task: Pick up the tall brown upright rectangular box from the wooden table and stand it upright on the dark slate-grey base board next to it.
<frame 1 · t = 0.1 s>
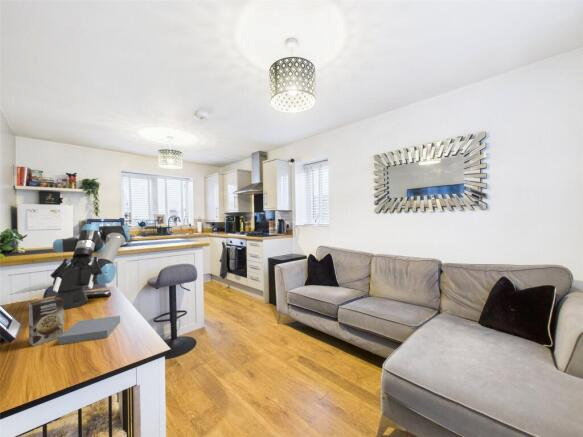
hand: (72, 289, 117), 15 cm above the table, tool tilted 35°, fingers open, 13 cm apart
base board: (92, 332, 106), on the table
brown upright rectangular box: (46, 340, 100), on the table
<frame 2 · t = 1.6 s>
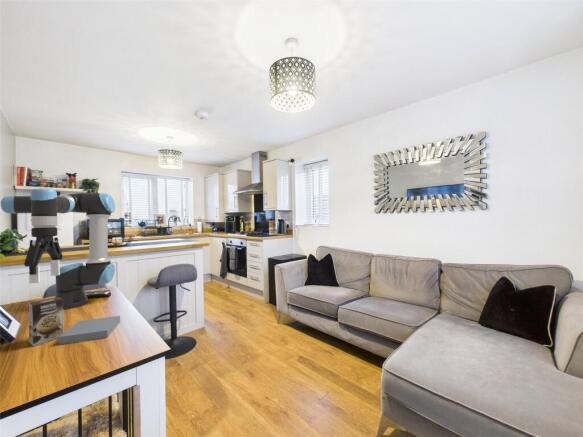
hand: (45, 278, 100), 25 cm above the table, tool pointing down, fingers open, 13 cm apart
nothing on the table moved.
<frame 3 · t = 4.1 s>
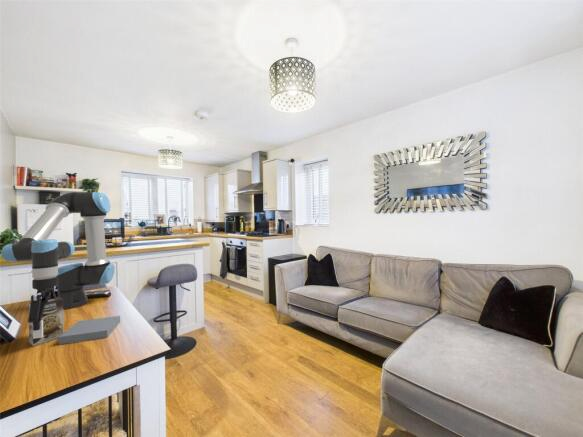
hand: (46, 331, 100), 3 cm above the table, tool pointing down, fingers closed on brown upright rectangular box, 10 cm apart
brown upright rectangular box: (46, 340, 100), on the table, touching gripper
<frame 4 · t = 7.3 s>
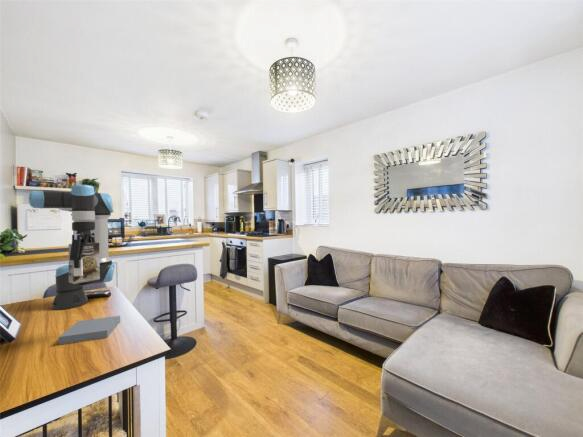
hand: (84, 273, 105), 26 cm above the table, tool pointing down, fingers closed on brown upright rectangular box, 10 cm apart
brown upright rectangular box: (84, 281, 105), point 22 cm above the table, touching gripper
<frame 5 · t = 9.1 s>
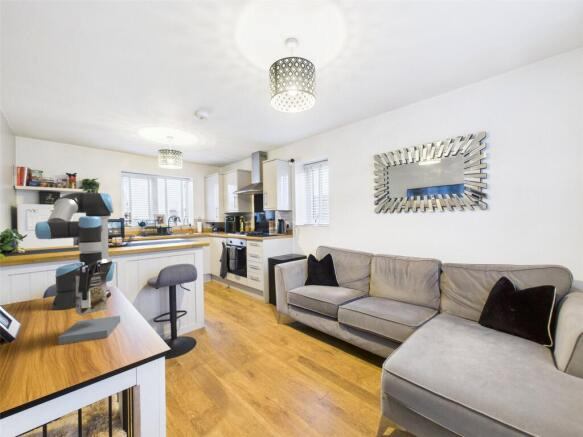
hand: (91, 303, 106), 13 cm above the table, tool pointing down, fingers closed on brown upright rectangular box, 10 cm apart
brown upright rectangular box: (91, 311, 106), point 9 cm above the table, touching gripper
when the fingers open (8 cm above the table, at t = 10.6 s): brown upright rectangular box drops 1 cm, resting on base board.
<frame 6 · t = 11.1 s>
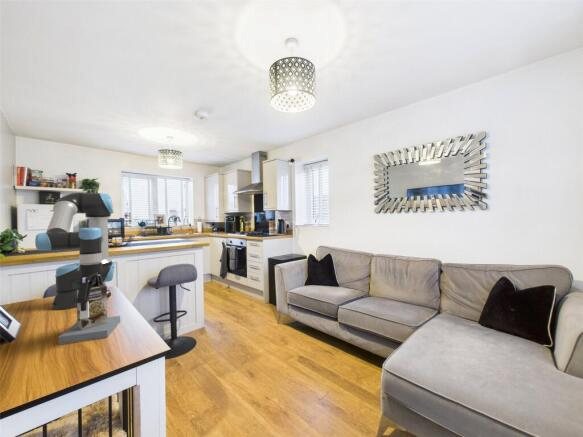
hand: (92, 312, 106), 9 cm above the table, tool pointing down, fingers open, 13 cm apart
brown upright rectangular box: (92, 325, 107), point 3 cm above the table, touching base board
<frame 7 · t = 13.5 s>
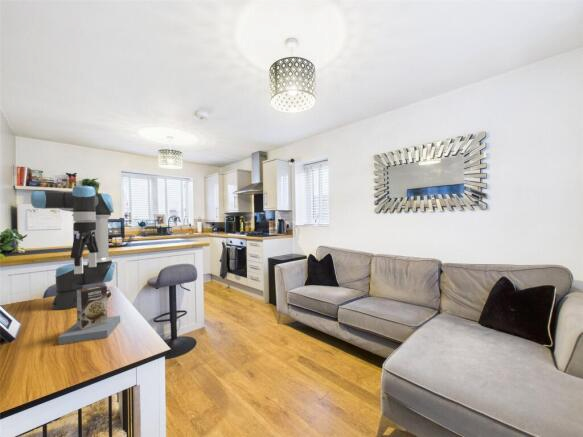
hand: (86, 270, 107), 27 cm above the table, tool pointing down, fingers open, 13 cm apart
nothing on the table moved.
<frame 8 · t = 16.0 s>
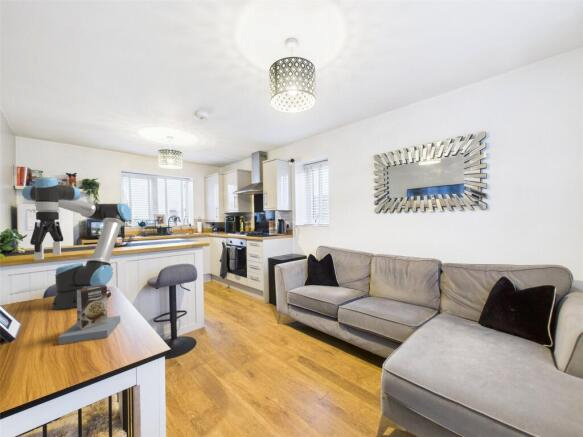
hand: (48, 257, 113), 32 cm above the table, tool pointing down, fingers open, 13 cm apart
nothing on the table moved.
at the end: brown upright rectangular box inside the target area on the base board (0.8 cm from its centre), point 2.8 cm above the base board's base; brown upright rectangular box tilted 0°; the gripper is holding nothing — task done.
